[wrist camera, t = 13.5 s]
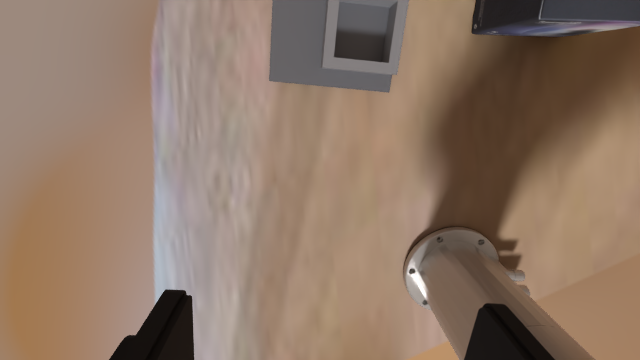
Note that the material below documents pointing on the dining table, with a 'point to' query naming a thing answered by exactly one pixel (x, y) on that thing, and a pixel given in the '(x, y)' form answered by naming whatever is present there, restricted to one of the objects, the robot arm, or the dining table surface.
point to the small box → (553, 17)
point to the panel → (337, 42)
